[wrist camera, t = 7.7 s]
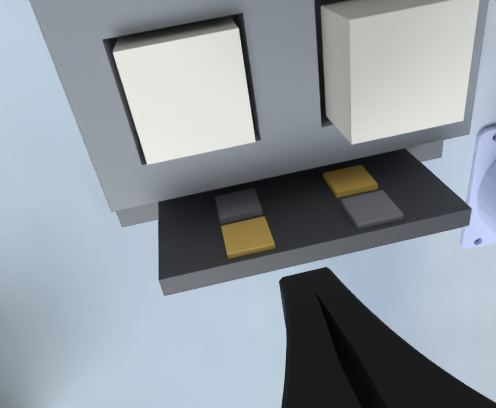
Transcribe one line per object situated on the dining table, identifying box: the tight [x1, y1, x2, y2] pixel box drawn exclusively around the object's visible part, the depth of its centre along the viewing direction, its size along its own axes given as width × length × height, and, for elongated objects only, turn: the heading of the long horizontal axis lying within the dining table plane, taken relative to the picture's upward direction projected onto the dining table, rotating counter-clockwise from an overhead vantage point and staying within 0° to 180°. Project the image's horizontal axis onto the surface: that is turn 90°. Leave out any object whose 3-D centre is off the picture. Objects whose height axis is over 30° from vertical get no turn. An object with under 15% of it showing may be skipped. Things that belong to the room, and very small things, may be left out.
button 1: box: [113, 15, 256, 165], centre depth 16 cm, size 4×4×3 cm
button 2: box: [321, 0, 479, 145], centre depth 15 cm, size 4×4×3 cm
